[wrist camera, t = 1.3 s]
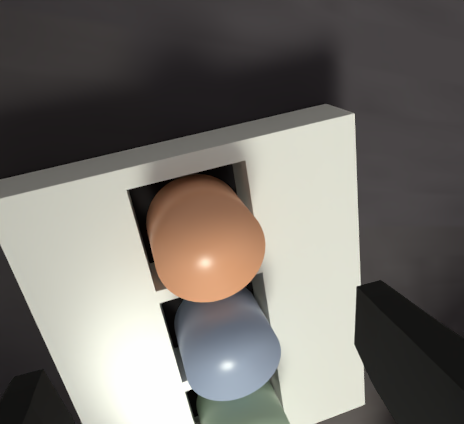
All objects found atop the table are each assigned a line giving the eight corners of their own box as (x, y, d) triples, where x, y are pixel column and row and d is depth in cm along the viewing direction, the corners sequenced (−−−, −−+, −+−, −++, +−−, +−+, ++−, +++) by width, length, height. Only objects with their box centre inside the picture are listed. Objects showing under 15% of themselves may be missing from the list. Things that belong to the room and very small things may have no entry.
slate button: (262, 337, 21) (285, 382, 19) (184, 363, 21) (196, 413, 18) (251, 270, 20) (275, 308, 17) (165, 296, 19) (176, 340, 16)
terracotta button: (247, 248, 19) (271, 284, 16) (158, 273, 18) (169, 315, 16) (233, 163, 17) (257, 188, 15) (134, 188, 17) (141, 219, 14)
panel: (343, 374, 26) (364, 404, 24) (114, 456, 24) (116, 498, 22) (326, 103, 19) (354, 113, 17) (-4, 180, 17) (-19, 203, 15)
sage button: (274, 410, 24) (296, 458, 21) (204, 435, 23) (218, 489, 20) (265, 355, 22) (288, 401, 19) (189, 381, 21) (202, 432, 18)
